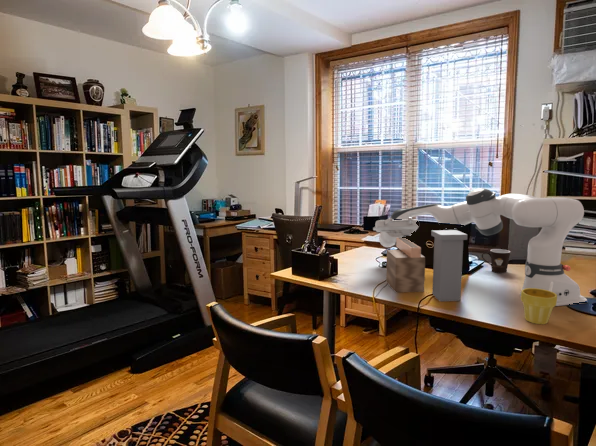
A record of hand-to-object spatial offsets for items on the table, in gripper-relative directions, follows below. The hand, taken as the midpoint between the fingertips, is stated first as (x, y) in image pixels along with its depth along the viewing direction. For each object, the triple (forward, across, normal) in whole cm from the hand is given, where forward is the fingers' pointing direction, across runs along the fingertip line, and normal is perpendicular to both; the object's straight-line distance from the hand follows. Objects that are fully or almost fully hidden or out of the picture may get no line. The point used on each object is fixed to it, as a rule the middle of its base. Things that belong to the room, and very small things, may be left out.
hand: (400, 219), depth 191 cm
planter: (+5, -1, +18) cm, 18 cm away
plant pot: (+36, +30, +53) cm, 70 cm away
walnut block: (0, -3, +32) cm, 32 cm away
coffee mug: (-17, +49, +21) cm, 56 cm away
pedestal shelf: (+14, +9, +40) cm, 43 cm away
